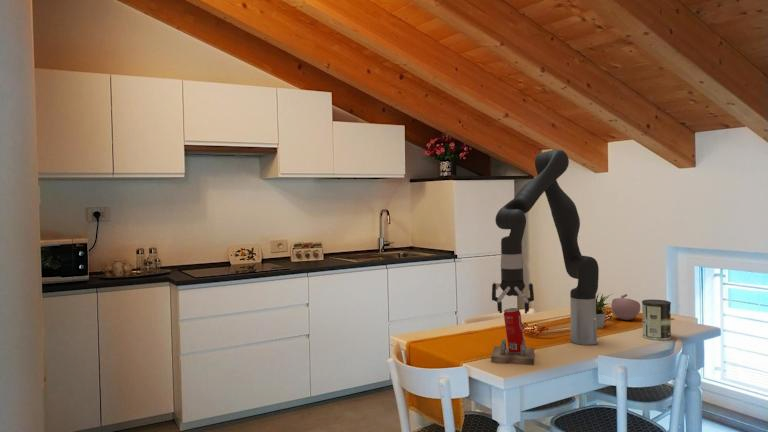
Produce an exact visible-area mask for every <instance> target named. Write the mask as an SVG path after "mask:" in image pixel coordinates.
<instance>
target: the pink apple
mask: <svg viewBox="0 0 768 432" xmlns="http://www.w3.org/2000/svg"><path fill="white" fill-rule="evenodd" d="M625 297H626V298H625ZM627 297H628V294H627V293H625V294H623V295H621V296H620V297H616V298H613V299H612V300H611V303H610V307H611V312H612V313H613V314H614V316H616V318H619V320H624V321H630V320H634V319H635V318H636V317H638V315H639V314H640V313H641V312H640V311H641V303H640V302H639V301H637V300H634V299H631V298H627Z"/></svg>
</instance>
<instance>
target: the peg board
mask: <svg viewBox="0 0 768 432" xmlns="http://www.w3.org/2000/svg"><path fill="white" fill-rule="evenodd" d="M524 342H525V345H520V353H517V354H514V353H510V352H509V348H508V346H507V338H502V339H501V343H499V346H496V345H495V346H494V347H493V350H492V352H491V355H490V358H491V359H490V363H491V362H497V363H496V364H509V363H514V365H530V366H534V365H535V364H534V363H535V347H526V346H527V345H526V344H527V343H526V342H527V340H526V339H524ZM525 349H526V350H525Z"/></svg>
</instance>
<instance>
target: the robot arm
mask: <svg viewBox="0 0 768 432" xmlns="http://www.w3.org/2000/svg"><path fill="white" fill-rule="evenodd" d="M569 161H570V160H569V156H568V154H567V152H565V151H564V150H561V149H554V150H553V149H552V150H547V151H544V152H539V153H538V154H537V155H536V156H535V158H534V168H535V172H536V173H537V175H536V176H535V177H533V178H531V180H529V181H528V182H527V183H525V184H524V185H523V186H522V187H521V189H519V191H518V192H517V193H516V194H515V195H514V198H512V199H511V200H509V202H507V203H506V204H504V205H503V206H501V208H500V209H499V210H498V211H497V213H496V214H495V224H496V226H497V227H498V228H499V229H501V230H510V232H509V235H508V236H504V237H502V238H501V240H500V252H501V254H500V257H501V258H500V272H501V273H500V277H501V278H500V279H501V280H500V281H501V282H500V283H496V282H493V283H492V285H491V301H494V302H496V303H497V312H499V314H502V313H503V303H502V300H503V299H504V298H505V296H508V297H511V296H514V297H517V296H519V297H520V298H521V299H522V300H523V301H524V314H528V312H529V311H530V303H531V302H533V301H535V294H534V284H533V282H529V283H525V282H524V258H523V245H522V244H523V243H522V242H523V238H524V234H525V229H526V226H527V218H526V214H527V213H529V212H530V211H531V210H532V208H533V207H534V206H535V204H536V203H537V201H538V200H539V199H540V198H541V196H542V195H543V194H544V193H545V196H546V200H547V203H548V206H549V210H550V212H551V216H552V219H553V223H554V226H555V228H556V232H557V235H558V240H559V242H560V243H559V244H560V246H561V252H562V256H563V258H562V259H563V262H564V263H563V264H564V267H565V270H566V271H565V272H566V273H567V275H568V277H570V278H572V279H576V280H577V286H576V287H574V288H572V289H571V290H570V293H569V294H570V295H569V297H570V302H569V303H570V342H571V343H573V344H576V345H580V346H581V345H582V346H583V345H584V346H586V345H587V346H590V345H598V328H597V319H596V298H597V293H598V291H599V277H600V276H599V273H600V271H599V270H600V269H599V264H598V261H597V260H596V259H595V258H594V257H592V256H587V255H582V253H581V249H580V246H579V243H578V238H579V231H580V227H581V221H580V220H581V219H580V216H579V213H578V209H577V206H576V203H575V202H574V201H573V199H571V197H570V196H569V195H568V194H567V193H566V192H565V191H564V190H563V189H562V188H561V186H560V185H559V182H558V181H557V180H558V179H559V178H560V177H561V176H562V175H563V174H564V173H565V172H567V170H568V168H569V164H570V162H569ZM499 288H500V289H501V291H502V292H501V294H500V295H499V296H498V297H497V290H498V289H499ZM525 288H526V289H527V291H529V297H527V295H526V294H525V292H524V291H523V290H524V289H525Z"/></svg>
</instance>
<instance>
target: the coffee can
mask: <svg viewBox="0 0 768 432" xmlns="http://www.w3.org/2000/svg"><path fill="white" fill-rule="evenodd" d="M641 304H642V305H641V310H642V314H641V315H642V321H641V322H642V337H643V338H644V339H648V340H652V341H669V340H671V339H672V329H671V328H672V325H671V322H672V319H671V317H672V313H671V312H672V311H671V309H672V308H671V304H672V302H671V301H669V300H666V299H663V300H662V299H643V300H641Z"/></svg>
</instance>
